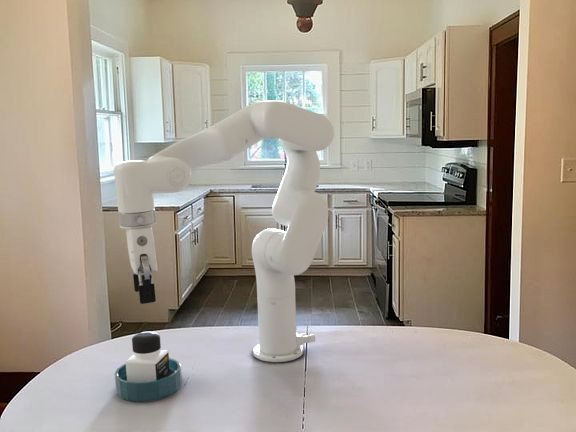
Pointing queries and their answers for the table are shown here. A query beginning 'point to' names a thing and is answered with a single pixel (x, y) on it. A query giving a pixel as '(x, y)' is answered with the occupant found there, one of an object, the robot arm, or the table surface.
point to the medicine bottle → (147, 359)
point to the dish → (148, 385)
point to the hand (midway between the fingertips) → (144, 296)
